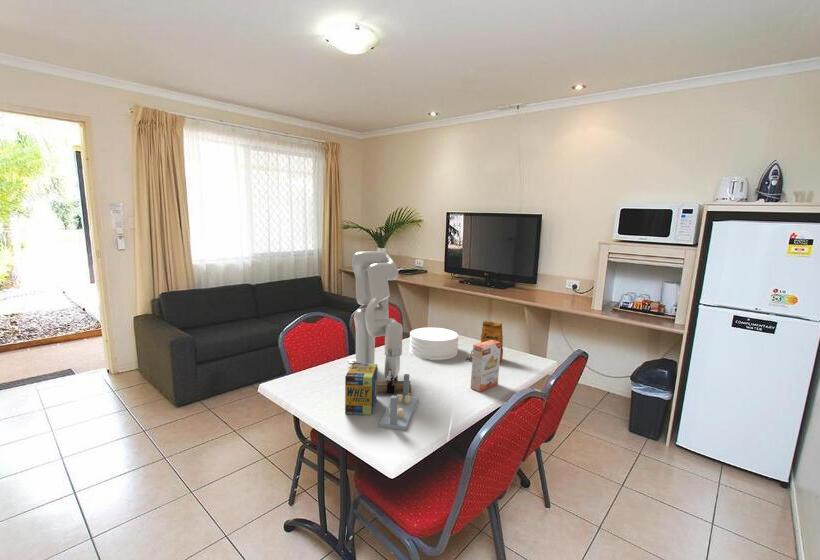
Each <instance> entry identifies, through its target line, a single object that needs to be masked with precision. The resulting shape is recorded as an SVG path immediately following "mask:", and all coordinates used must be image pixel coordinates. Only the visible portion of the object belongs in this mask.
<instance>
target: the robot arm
mask: <svg viewBox="0 0 820 560" xmlns="http://www.w3.org/2000/svg"><path fill="white" fill-rule="evenodd" d="M351 267H352V271H353V274H354V277H355V296H356V297H355V298H356V303H357V304H358V305H360V306H366V307H362V308H358V309H357V310H355V312H354V314H353V319H354V326H355V359H348V360H347V363H348V365H352V364H353V363H367V364H375V360H376V359H375V351H376V349H375V347H376V346H375V345H376V338H377V337H383V336H384V356H385V361H384V372H383V373H384V374H383V377H384V379H386V381H387V393H386V394H392V395H393V394H395V393H394V387H395V385H394V381H399V373H400V369H401V356H402V355H403V325H402V324H401V322H398V321H397V320H396V319H395V318H391V317H390V318H389V314H390V313H389V311H390V310H389V298H390V297H391V293H390V286H389V282H388V281H395V280H397V279H398V276H399V269H398V265H397V264H396V263H395V261H394V260H393V258H391V256H390V255H389V253H388V252H386V251H383V250H382V251H381V250H379V251H378V250H376V251H374V250H373V251H372V250H371V251H369V250H367V251H366V250H363V251H358V252H355V253H354V254H353V255H352V259H351Z"/></svg>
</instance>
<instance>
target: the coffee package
mask: <svg viewBox="0 0 820 560" xmlns="http://www.w3.org/2000/svg"><path fill="white" fill-rule="evenodd" d="M503 339H504V336H503V323H502V322H494V321H487V320H482V327H481V334H480V343H482V342H485V341H489V340H494V341H498V342H501V350H500V362H503V357H504V347H503V344H504V343H503V342H504V341H503Z"/></svg>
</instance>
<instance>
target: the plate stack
mask: <svg viewBox="0 0 820 560" xmlns="http://www.w3.org/2000/svg"><path fill="white" fill-rule="evenodd" d="M458 347H459V334H458V333H457V331H454V330H451V329H448V328H443V327H420V328H419V327H418V328H415V329H413V330H410V332H409V353H410V355H412V356H414V357H416V358H420V359H425V360H431V361H440V360H441V361H442V360H449V359H452V358H455V357H456V356H457V355H458V350H459V348H458Z"/></svg>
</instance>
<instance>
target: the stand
mask: <svg viewBox="0 0 820 560" xmlns="http://www.w3.org/2000/svg"><path fill="white" fill-rule="evenodd" d="M403 381H404V386H403V393H397V394H395V395H393V394H392V395H391V396H390V404H388V407H387V408H386V410H385V412H384V414H383V416H382V417H381V419H380V421H379V423H378V427H379V428H385V429H393V430H400V431H407V428H408V427H409V424H410V421H411V419H412V417H413V414H414V412H415V410H416V407H417V405H418V403H419V397H413V396H412V397H411V395H410V393H409V381H410V374H409V373H404V375H403Z"/></svg>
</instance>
